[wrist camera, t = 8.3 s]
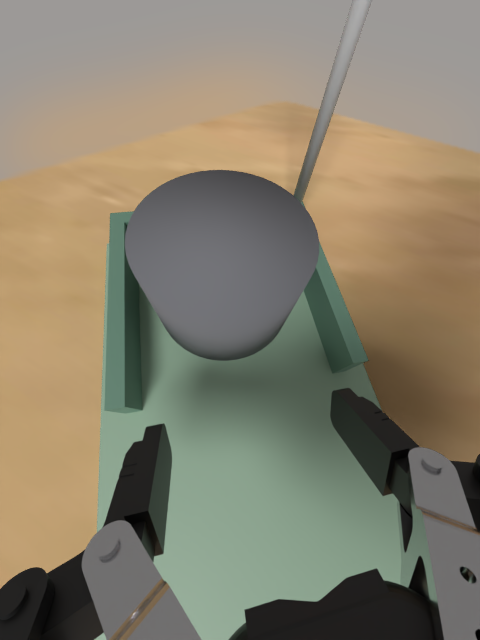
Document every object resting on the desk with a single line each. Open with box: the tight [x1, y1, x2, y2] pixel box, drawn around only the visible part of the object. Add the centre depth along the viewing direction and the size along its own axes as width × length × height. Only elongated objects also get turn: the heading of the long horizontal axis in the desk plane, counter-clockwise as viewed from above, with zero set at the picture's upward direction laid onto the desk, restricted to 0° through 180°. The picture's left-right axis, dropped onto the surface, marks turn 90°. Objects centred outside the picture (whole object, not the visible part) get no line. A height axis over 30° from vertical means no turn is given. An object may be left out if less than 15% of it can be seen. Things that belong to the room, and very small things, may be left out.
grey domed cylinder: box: [125, 170, 319, 361], centre depth 16 cm, size 10×10×7 cm
